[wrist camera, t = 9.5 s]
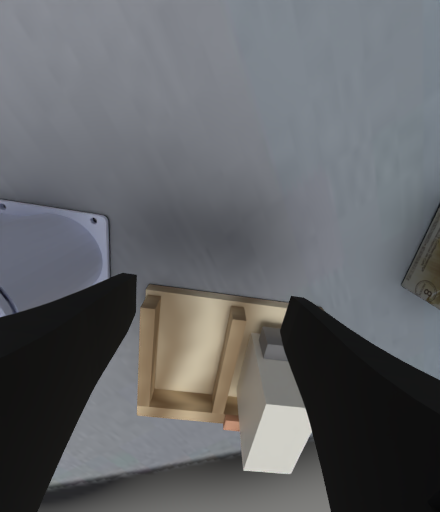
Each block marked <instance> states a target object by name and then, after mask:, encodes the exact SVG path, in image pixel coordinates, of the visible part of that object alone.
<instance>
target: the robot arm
mask: <svg viewBox="0 0 440 512" xmlns="http://www.w3.org/2000/svg"><path fill="white" fill-rule="evenodd" d="M4 205H5V206H6V209H5V208H4ZM93 218H95V219H96V220H97V223H95V222H94V221H93ZM136 282H137V275H134V274H126V273H121V274H118V275H116V276H113V277H111V278H110V265H109V228H108V219H107V217H105V216H104V215H99V214H93V213H86V212H80V211H74V210H67V209H61V208H54V207H48V206H41V205H35V204H28V203H22V202H15V201H9V200H2V199H0V512H37V511H38V509H39V507H40V504H41V502H42V499H43V497H44V495H45V492H46V490H47V488H48V486H49V483H50V481H51V479H52V477H53V474H54V472H55V470H56V468H57V465H58V463H59V461H60V459H61V456H62V454H63V452H64V450H65V448H66V445H67V443H68V441H69V439H70V437H71V435H72V432H73V430H74V428H75V426H76V424H77V422H78V420H79V418H80V415H81V413H82V411H83V409H84V407H85V405H86V403H87V401H88V399H89V397H90V395H91V393H92V391H93V389H94V387H95V385H96V384H97V382H98V380H99V378H100V377H101V375H102V373H103V372H104V370H105V368H106V367H107V365H108V363H109V362H110V360H111V359H112V357H113V355H114V354H115V352H116V350H117V349H118V347H119V345H120V344H121V342H122V340H123V339H124V337H125V335H126V334H127V332H128V330H129V327H130V325H131V323H132V320H133V318H134V316H135V313H136ZM280 334H281V339H282V343H283V348H284V351H285V354H286V357H287V360H288V363H289V365H290V368H291V371H292V373H293V376H294V379H295V381H296V384H297V387H298V389H299V392H300V394H301V397H302V400H303V403H304V406H305V409H306V412H307V415H308V419H309V422H310V426H311V430H312V433H313V437H314V441H315V445H316V449H317V452H318V457H319V461H320V465H321V469H322V473H323V477H324V482H325V486H326V491H327V495H328V500H329V504H330V509H331V512H440V380H438V379H436V378H434V377H432V376H430V375H428V374H426V373H424V372H422V371H420V370H418V369H416V368H414V367H413V366H411V365H409V364H407V363H405V362H403V361H401V360H400V359H398V358H396V357H394V356H393V355H391V354H389V353H387V352H386V351H384V350H382V349H380V348H379V347H377V346H375V345H374V344H372V343H370V342H369V341H367V340H366V339H364V338H363V337H361V336H360V335H358V334H356V333H355V332H353V331H352V330H350V329H349V328H347V327H346V326H345V325H343V324H342V323H340V322H339V321H337V320H336V319H335V318H333V317H332V316H330V315H329V314H328V313H326V312H325V311H323V310H322V309H320V308H319V307H318V306H316V305H315V304H313V303H312V302H310V301H308V300H307V299H305V298H302V297H294V296H291V298H290V301H289V304H288V307H287V310H286V313H285V316H284V319H283V323H282V326H281V329H280Z"/></svg>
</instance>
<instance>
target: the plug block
mask: <svg viewBox="0 0 440 512" xmlns="http://www.w3.org/2000/svg"><path fill="white" fill-rule="evenodd" d="M236 392H237V403H238V415H239V427H240V438H241V450H242V461H243V470H245V471H257V472H271V473H283V474H291V472H292V470H293V468H294V466H295V464H296V462H297V460H298V458H299V456H300V454H301V452H302V450H303V448H304V446H305V444H306V442H307V440H308V438H309V436H310V434H311V432H312V430H311V426H310V422H309V419H308V415H307V412H306V409H305V406H304V403H303V400H302V397H301V394H300V392H299V389H298V387H297V384H296V381H295V379H294V376H293V373H292V371H291V368H290V365H289V363H288V360H287V357H286V354H285V351H284V348H283V343H282V339H281V334H280V328H272V327H264V326H263V327H262V330H261V334H259V333H251V335H250V339H249V343H248V347H247V350H246V354H245V358H244V362H243V366H242V369H241V373H240V377H239V381H238V385H237V388H236Z"/></svg>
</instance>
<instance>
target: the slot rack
mask: <svg viewBox="0 0 440 512" xmlns="http://www.w3.org/2000/svg"><path fill="white" fill-rule="evenodd" d="M288 304H289V303H285V302H278V301H271V300H263V299H256V298H248V297H241V296H234V295H226V294H219V293H211V292H204V291H196V290H189V289H182V288H174V287H167V286H159V285H152V284H149V285H148V287H147V288H146V297H145V300H144V302H143V304H142V306H141V307H140V336H139V368H138V399H137V415H138V416H149V417H159V418H170V419H181V420H191V421H202V422H213V423H223V430H232V431H240V427H239V415H238V403H237V392H236V388H237V385H238V381H239V377H240V373H241V369H242V366H243V362H244V358H245V354H246V350H247V347H248V343H249V339H250V335H251V333H259V334H261V330H262V327H263V326H264V327H272V328H280V329H281V326H282V323H283V319H284V316H285V313H286V310H287V307H288ZM319 308H320V309H322V307H319ZM322 310H323V309H322ZM323 311H324V310H323Z"/></svg>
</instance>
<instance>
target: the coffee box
mask: <svg viewBox="0 0 440 512" xmlns="http://www.w3.org/2000/svg"><path fill="white" fill-rule="evenodd" d="M402 287H404V288H405V289H407V290H409V291H410V292H412V293H414V294H415V295H417V296H418V297H420V298H422V299H423V300H425V301H427V302H428V303H430V304H431V305H433V306H435V307H436V308H438V309H439V310H440V207H439V209H438V211H437V213H436V215H435V217H434V220H433V222H432V224H431V226H430V228H429V230H428V232H427V234H426V236H425V238H424V240H423V242H422V244H421V246H420V248H419V250H418V253H417V255H416V257H415V259H414V261H413V263H412V265H411V267H410V269H409V271H408V273H407V275H406V277H405V279H404V281H403V283H402Z"/></svg>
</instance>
